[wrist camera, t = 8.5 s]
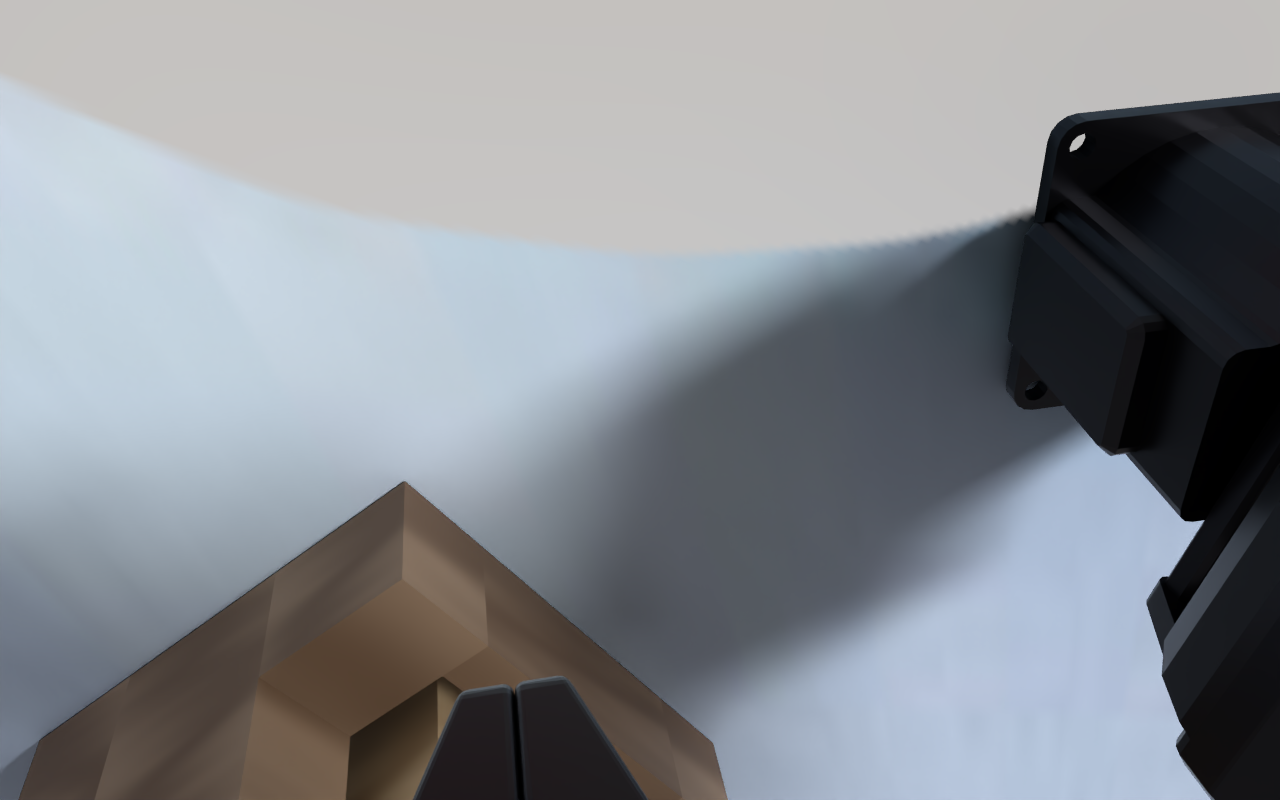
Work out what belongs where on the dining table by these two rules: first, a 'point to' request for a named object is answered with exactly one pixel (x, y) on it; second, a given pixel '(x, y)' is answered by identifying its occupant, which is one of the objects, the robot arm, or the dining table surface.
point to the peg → (399, 745)
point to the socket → (350, 675)
